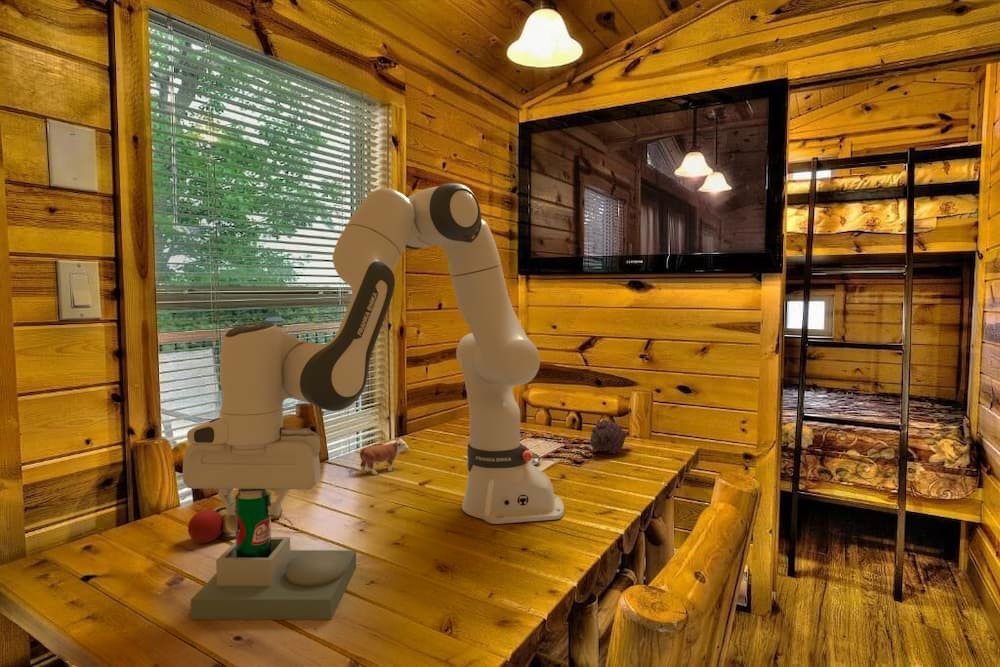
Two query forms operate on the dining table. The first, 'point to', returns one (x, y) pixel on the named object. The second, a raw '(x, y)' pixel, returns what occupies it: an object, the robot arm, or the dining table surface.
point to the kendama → (213, 524)
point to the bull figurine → (381, 454)
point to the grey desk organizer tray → (276, 585)
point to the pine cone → (608, 437)
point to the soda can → (253, 523)
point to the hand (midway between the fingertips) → (254, 515)
